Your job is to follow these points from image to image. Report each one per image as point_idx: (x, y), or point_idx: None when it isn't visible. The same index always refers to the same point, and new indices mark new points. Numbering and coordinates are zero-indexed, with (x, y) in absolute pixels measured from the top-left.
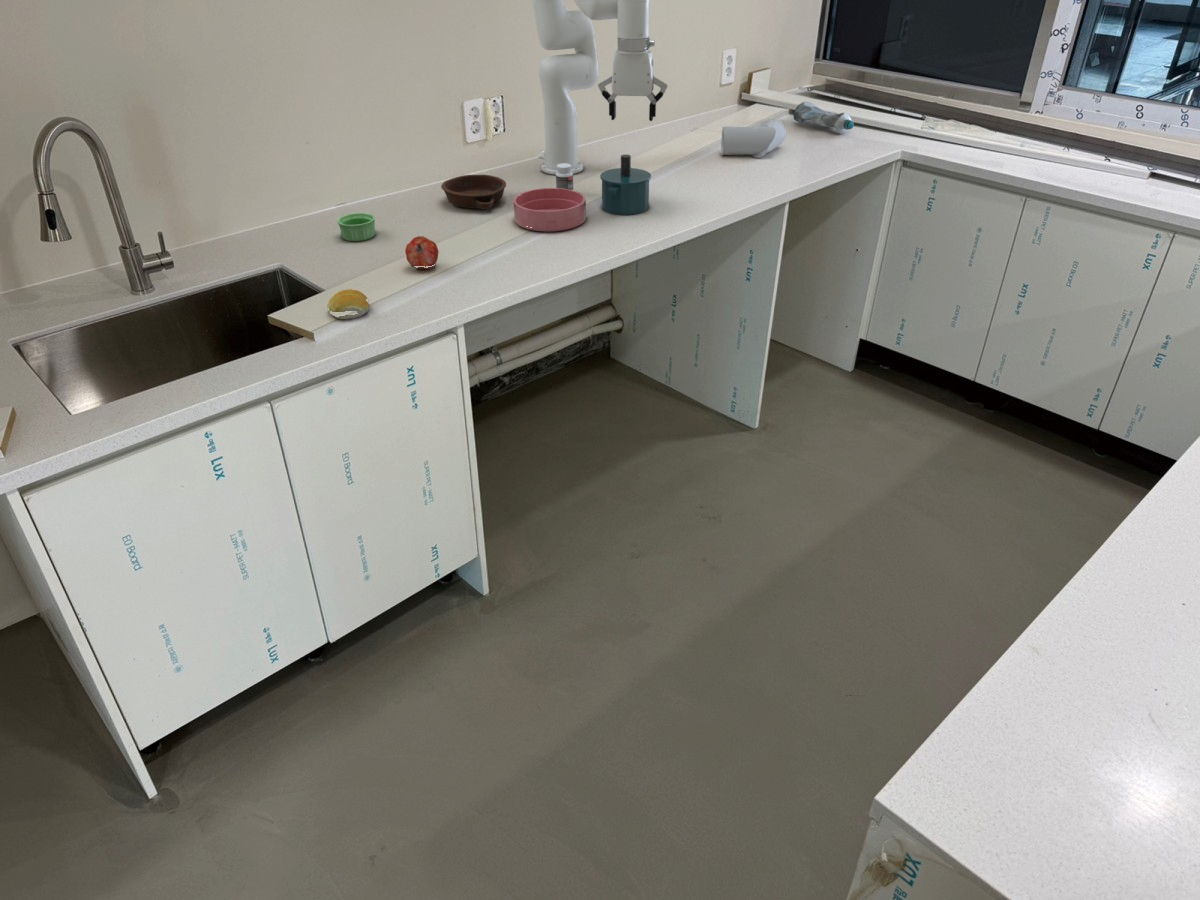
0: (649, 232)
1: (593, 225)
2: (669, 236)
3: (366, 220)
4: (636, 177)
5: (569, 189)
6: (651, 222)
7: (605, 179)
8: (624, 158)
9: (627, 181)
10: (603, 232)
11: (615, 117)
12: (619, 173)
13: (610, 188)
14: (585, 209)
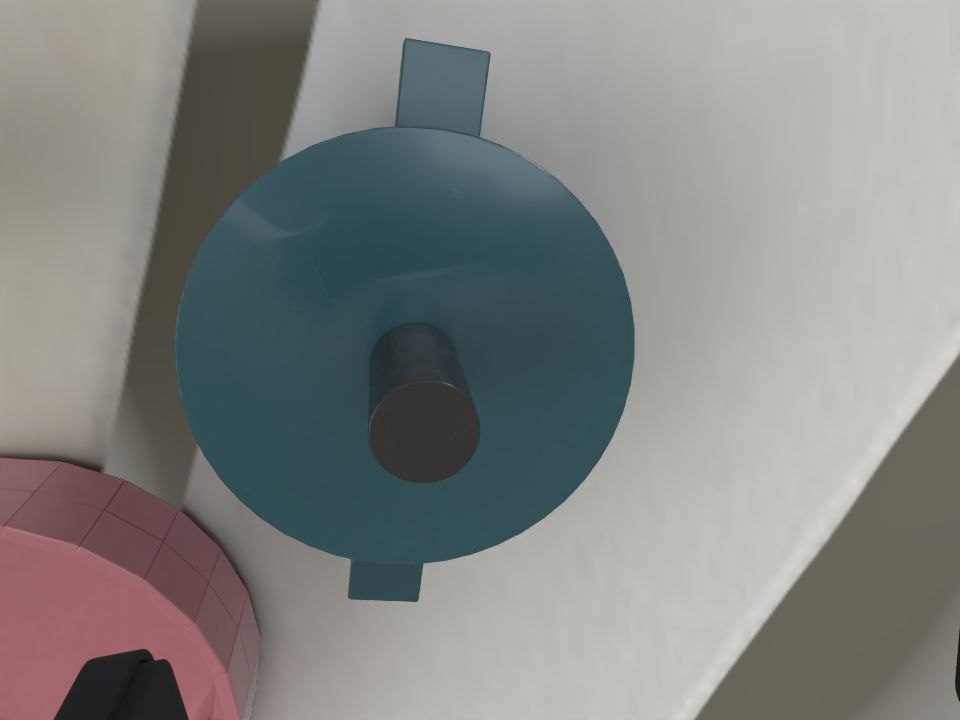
0: (636, 625)
1: (322, 634)
2: (739, 639)
3: None
4: (522, 395)
5: (3, 527)
6: (620, 496)
7: (284, 522)
8: (425, 479)
9: (477, 512)
10: (409, 699)
11: (179, 693)
12: (343, 331)
13: (363, 581)
14: (241, 641)
